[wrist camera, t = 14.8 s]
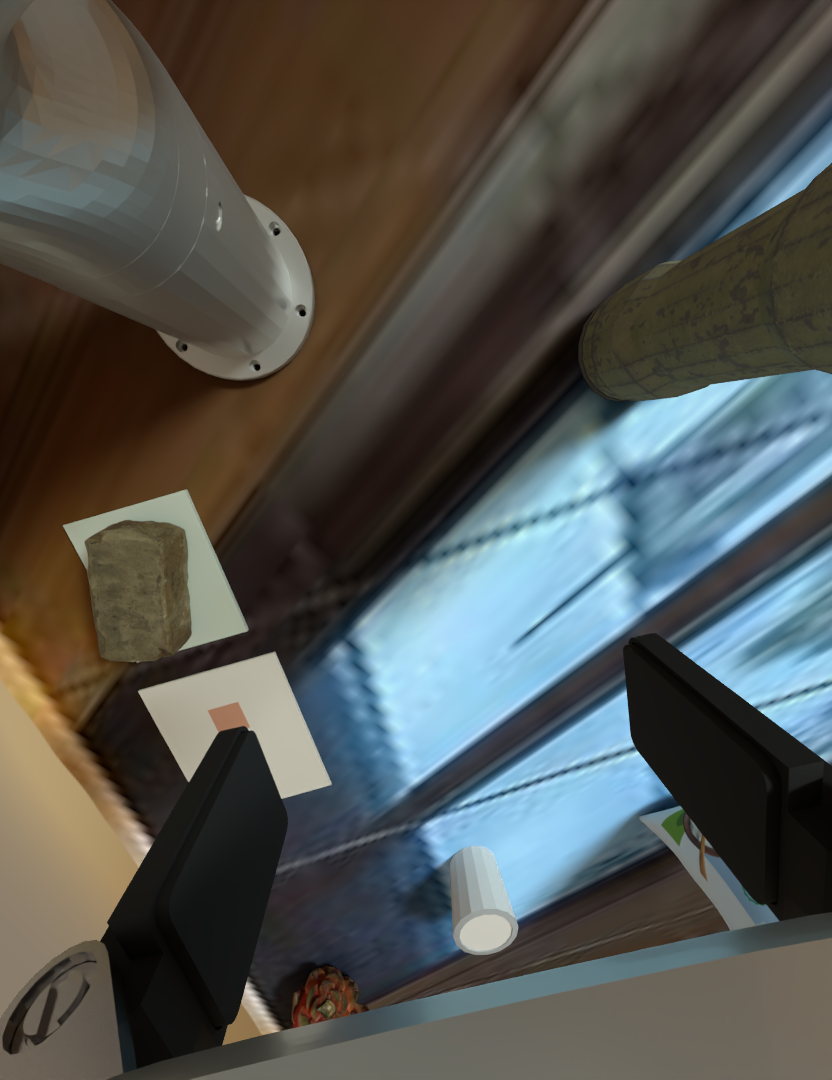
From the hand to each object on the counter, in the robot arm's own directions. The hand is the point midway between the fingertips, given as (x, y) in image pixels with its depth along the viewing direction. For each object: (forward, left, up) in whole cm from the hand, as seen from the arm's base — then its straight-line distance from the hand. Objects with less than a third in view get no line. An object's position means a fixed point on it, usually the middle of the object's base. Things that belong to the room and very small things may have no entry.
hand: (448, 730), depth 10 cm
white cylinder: (+44, -4, -28) cm, 52 cm away
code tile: (+18, -23, -28) cm, 40 cm away
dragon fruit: (+57, -26, -28) cm, 68 cm away
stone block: (0, -23, -27) cm, 36 cm away
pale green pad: (0, -23, -28) cm, 36 cm away
